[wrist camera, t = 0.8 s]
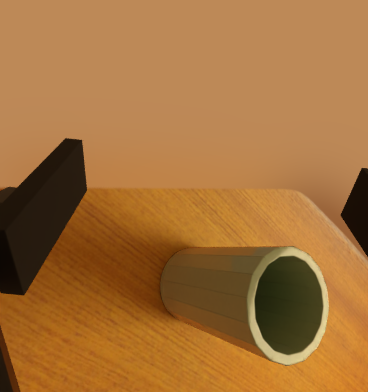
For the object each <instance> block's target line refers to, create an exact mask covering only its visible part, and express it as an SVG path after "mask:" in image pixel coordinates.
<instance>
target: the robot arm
mask: <svg viewBox="0 0 368 392" xmlns="http://www.w3.org/2000/svg"><path fill="white" fill-rule="evenodd" d="M86 191H87V185H86V176H85V165H84V155H83V145H82V140H77V139H67V138H66V139H65V140H63V142H61V143H60V145H59V146H58V147H57V148H56V149H55V150H54V151H53V152H52V153H51V154H50V155H49V156H48V157H47V158H46V159H45V160H44V161H43V162H42V163H41V164H40V165H39V166H38V167H37V168H36V169H35V170H34V171H33V172H32V173H31V174H30V175H29V176H28V177H27V178H26V179H25V180H24V181H23V182H22V183H21V184H20V185H19V186H18V187H17V188H14V187H7V188H5V189H3V190H1V191H0V292H1V293H5V294H15V295H25V293H26V291H27V290H28V288H29V286H30V285H31V283H32V281H33V280H34V278H35V276H36V275H37V273H38V271H39V270H40V268H41V266H42V265H43V263H44V261H45V260H46V258H47V256H48V255H49V253H50V251H51V250H52V248H53V246H54V245H55V243H56V241H57V240H58V238H59V236H60V235H61V233H62V231H63V230H64V228H65V226H66V225H67V223H68V221H69V220H70V218H71V216H72V215H73V213H74V211H75V210H76V208H77V206H78V205H79V203H80V201H81V199H82V198H83V196H84V194H85V193H86ZM341 217H342V218H343V220H344V221H345V223H346V224H347V226H348V228H349V229H350V231H351V232H352V234H353V235H354V237H355V238H356V240H357V241H358V243H359V244H360V246H361V247H362V249H363V251H364V252H365V254H366V255H367V256H368V169H367V168H362V169H361V171H360V173H359V175H358V178H357V180H356V182H355V184H354V187H353V189H352V191H351V193H350V195H349V198H348V200H347V202H346V204H345V207H344V209H343V211H342V213H341ZM0 392H20V389H19V386H18V382H17V379H16V376H15V372H14V369H13V366H12V363H11V359H10V356H9V353H8V349H7V346H6V343H5V339H4V336H3V333H2V330H1V326H0Z"/></svg>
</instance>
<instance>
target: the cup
mask: <svg viewBox="0 0 368 392" xmlns="http://www.w3.org/2000/svg"><path fill="white" fill-rule="evenodd" d="M160 293H161V298H162V301H163V303H164V305H165V307H166V309H167V310H168V311H169V313H170V314H171V315H172V316H174V317H175V318H177V319H178V320H180V321H182V322H184V323H186V324H188V325H191V326H193V327H195V328H197V329H200V330H202V331H204V332H206V333H209V334H211V335H213V336H215V337H218V338H220V339H222V340H224V341H227V342H229V343H231V344H233V345H236V346H238V347H240V348H242V349H245V350H247V351H249V352H251V353H254V354H256V355H258V356H260V357H263V358H265V359H267V360H269V361H272V362H275V363H279V364H282V365H285V366H289V365H293V364H296V363H299V362H303V361H304V360H305V359H306V358H307V357H309V356H310V355H311V354H312V353H313V352H314V351H315V350H316V348H318V345H319V343H320V341H321V339H322V337H323V335H324V332H325V330H326V324H327V318H328V311H329V303H328V293H327V286H326V283H325V280H324V278H323V275H322V272H321V270H320V267H319V266H318V265H317V264H316V262H315V261H314V260H313V259H312V257H311V256H310V255H309V254H308V253H306V252H304V251H302V250H300V249H298V248H296V247H294V246H262V247H191V248H185V249H183V250H180V251H179V252H177V253H176V254H174V255H173V256H172V257H171V258H170V259H169V261H168V262H167V264H166V265H165V267H164V269H163V272H162V275H161V281H160Z"/></svg>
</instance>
